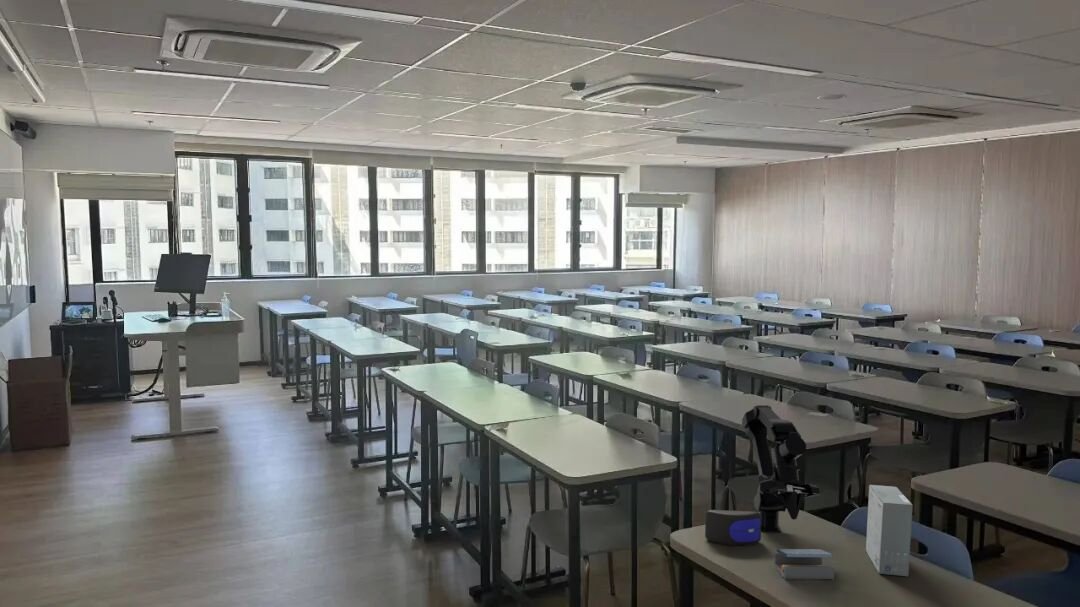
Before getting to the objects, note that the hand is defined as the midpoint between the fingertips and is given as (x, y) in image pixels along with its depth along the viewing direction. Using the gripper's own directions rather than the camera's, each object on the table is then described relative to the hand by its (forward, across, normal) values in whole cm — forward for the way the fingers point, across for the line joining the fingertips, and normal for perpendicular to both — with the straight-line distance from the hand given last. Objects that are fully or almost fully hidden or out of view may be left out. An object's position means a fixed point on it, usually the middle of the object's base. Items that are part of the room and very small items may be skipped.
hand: (794, 519), depth 200 cm
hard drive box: (+11, -24, +9) cm, 28 cm away
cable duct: (+14, +1, +1) cm, 14 cm away
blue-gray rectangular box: (+10, +2, +3) cm, 11 cm away
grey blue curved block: (+4, +4, -21) cm, 22 cm away
